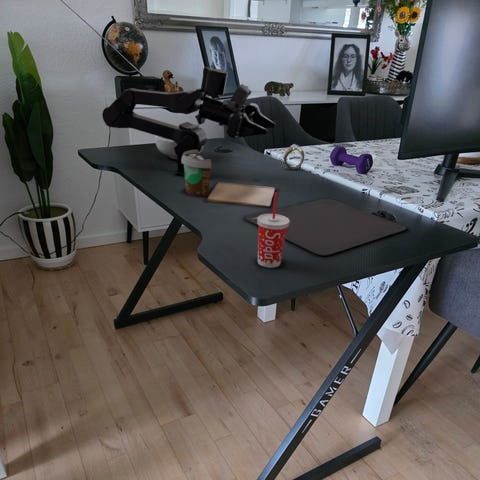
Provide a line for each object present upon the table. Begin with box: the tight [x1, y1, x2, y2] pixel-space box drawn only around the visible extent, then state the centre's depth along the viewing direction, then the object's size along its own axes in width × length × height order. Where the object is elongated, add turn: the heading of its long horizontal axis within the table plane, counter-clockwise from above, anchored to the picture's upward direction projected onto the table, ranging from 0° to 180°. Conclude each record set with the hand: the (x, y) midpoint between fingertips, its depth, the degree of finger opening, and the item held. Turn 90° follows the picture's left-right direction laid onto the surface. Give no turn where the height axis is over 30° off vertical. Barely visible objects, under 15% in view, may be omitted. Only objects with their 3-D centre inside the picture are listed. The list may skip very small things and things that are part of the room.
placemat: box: [206, 181, 276, 209], centre depth 126 cm, size 17×17×1 cm
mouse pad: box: [244, 198, 407, 257], centre depth 110 cm, size 32×27×1 cm
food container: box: [181, 150, 212, 198], centre depth 123 cm, size 12×6×10 cm, turn 23°
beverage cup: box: [257, 192, 290, 269], centre depth 86 cm, size 6×6×14 cm
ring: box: [283, 143, 305, 170], centre depth 151 cm, size 7×3×8 cm, turn 100°
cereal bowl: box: [154, 135, 205, 160], centre depth 156 cm, size 17×17×7 cm
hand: (270, 128), depth 127 cm, fingers open, 9 cm apart
